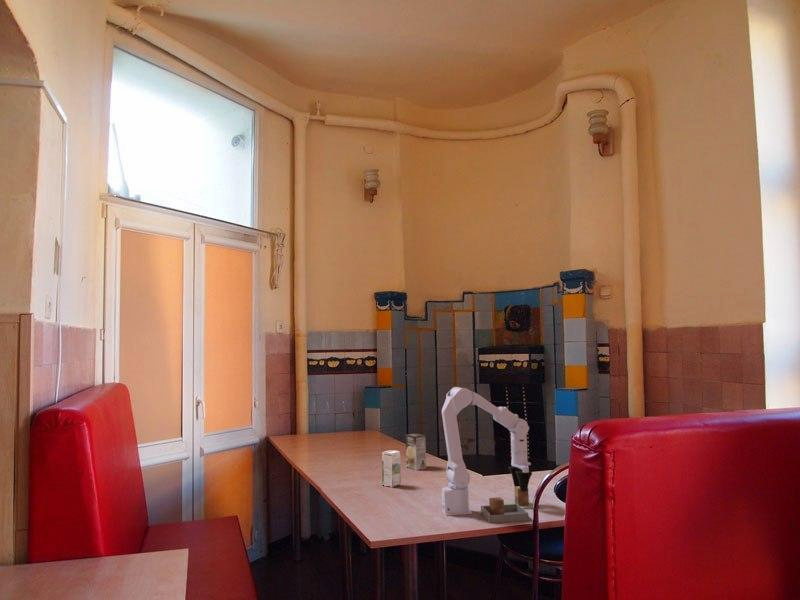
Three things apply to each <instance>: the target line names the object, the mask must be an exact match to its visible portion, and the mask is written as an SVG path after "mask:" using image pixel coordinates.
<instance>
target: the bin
mask: <svg viewBox="0 0 800 600" xmlns="http://www.w3.org/2000/svg"><path fill="white" fill-rule="evenodd" d="M480 512H481V515H483V516H484V518H485V520H487V522H488V523H489V524H493V523H494V524H498V523H509V522H510V523H513V522H528V521H529V513H528V512H527V511H526V509H523V508H521V507H520V506H519V505H518V504H507V503H506V504H504V514H503V515H490V504H488V505H480Z"/></svg>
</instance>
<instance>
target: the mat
mask: <svg viewBox="0 0 800 600" xmlns="http://www.w3.org/2000/svg"><path fill="white" fill-rule="evenodd" d="M505 503H506V504H515V500H514V501H513V500H511V501H505ZM533 504H534V502H532V501H531V500H530V499H529V505H528V506H520V507H521V508H523V509H524V510H529V509H534V508H533Z"/></svg>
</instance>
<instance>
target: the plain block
mask: <svg viewBox="0 0 800 600" xmlns="http://www.w3.org/2000/svg"><path fill="white" fill-rule="evenodd" d="M488 499H489V504H488V505H490V515H503V514H504V505H505V504H504V503H505V501H504V499H503V498H502V497H501V496H500V497H499V496H498V497H489V498H488Z"/></svg>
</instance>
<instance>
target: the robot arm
mask: <svg viewBox="0 0 800 600" xmlns="http://www.w3.org/2000/svg"><path fill="white" fill-rule="evenodd" d="M445 397H446V398H445V401H444V403H443V406H442V408H441V417H442V424H443V425H442V426H443V431H444V432H443V433H444V438H445V445H446V453H447V462H446V471H445V478H446V480H447V481H448V484H447V486H446V487H445V486H444V487H442V488H441V510H442V512H443V514H444V515H445V516H460V515H472V514H473V512H472V511H471V510H470V504H469V503H470V502H469V501H470V500H469V498H470V497H469V484H470V482H471V476H470V473H469V472H468V470H467V466H466V464H465V462H464V461H465V460H464V459H463V452H462V445H461V438H460V431H459V424H458V419H457V418H458V417H457V416H458V414H459V413H460V412H461V411H462V410H463V409H465V408H467V406H470V405H471V406H477V407H479V409H480V408H481V409H482V410H484V411H486V413H489V414H491V415H492V419H493V420H494V421H495V422H496V423H499V424H500V425H502V426H503V427H504V428H506V429H507V430H508V431H509V432H510V448H511V450H510V451H511V464H510V465H511V466H508V470H509V472H510V474H511V478H512V482H513V484H514V487H516V486H520V490H521V491H522V492H523V491H527V489H528V490H529V482H530V479H531V477H532V474H533V472H532V471H530V470H529V468H530V467H529V466H531V465H532V463H531V462H530V461H528V440H527V434H528V432H529V431H530V426H529V425H528V424H529V423H527V421H526V420H525V419H524V418H520V417H519V415H518V414H517V413H513V412H512V411H510V410H509V408H508V407H507V406H496V405H494V404H493V403H491V402H490V401H488V400H487V399H485V398H484V397H483V396H481V395H480V394H478V393H476V392H475V391H472V390H470V389H469V388H466V387H459V386H454V387H452V388H451V389H450V390H449V391H448V392H447V393H446V395H445Z"/></svg>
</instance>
